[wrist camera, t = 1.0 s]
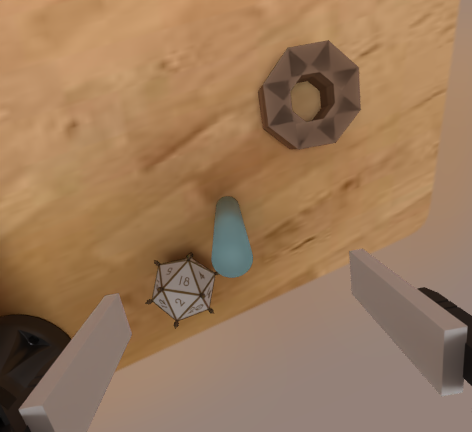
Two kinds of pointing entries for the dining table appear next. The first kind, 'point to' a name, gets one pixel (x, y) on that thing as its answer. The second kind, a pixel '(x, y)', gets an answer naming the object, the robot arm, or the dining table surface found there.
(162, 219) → the dining table surface
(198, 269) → the game die
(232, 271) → the teal rounded stick
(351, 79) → the bead
